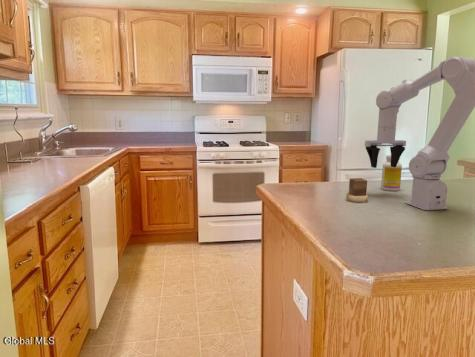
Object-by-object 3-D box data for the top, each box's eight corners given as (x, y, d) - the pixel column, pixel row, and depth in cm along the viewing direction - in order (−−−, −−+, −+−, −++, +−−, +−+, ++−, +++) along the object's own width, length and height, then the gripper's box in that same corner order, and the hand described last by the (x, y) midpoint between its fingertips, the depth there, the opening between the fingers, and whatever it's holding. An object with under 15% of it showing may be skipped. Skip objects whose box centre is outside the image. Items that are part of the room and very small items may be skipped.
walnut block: (366, 195, 114) (367, 180, 113) (354, 196, 113) (355, 180, 112) (359, 193, 118) (360, 178, 117) (348, 193, 117) (349, 178, 116)
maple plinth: (371, 202, 113) (371, 196, 113) (352, 203, 112) (353, 197, 112) (360, 197, 120) (360, 191, 119) (342, 198, 118) (343, 192, 118)
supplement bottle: (402, 191, 130) (406, 156, 128) (384, 191, 130) (387, 156, 128) (395, 187, 137) (398, 154, 135) (378, 187, 137) (380, 154, 135)
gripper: (398, 127, 125) (394, 165, 128) (361, 127, 122) (358, 165, 125) (411, 128, 119) (407, 167, 121) (372, 128, 116) (369, 168, 118)
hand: (383, 167), depth 122 cm, fingers open, 7 cm apart
